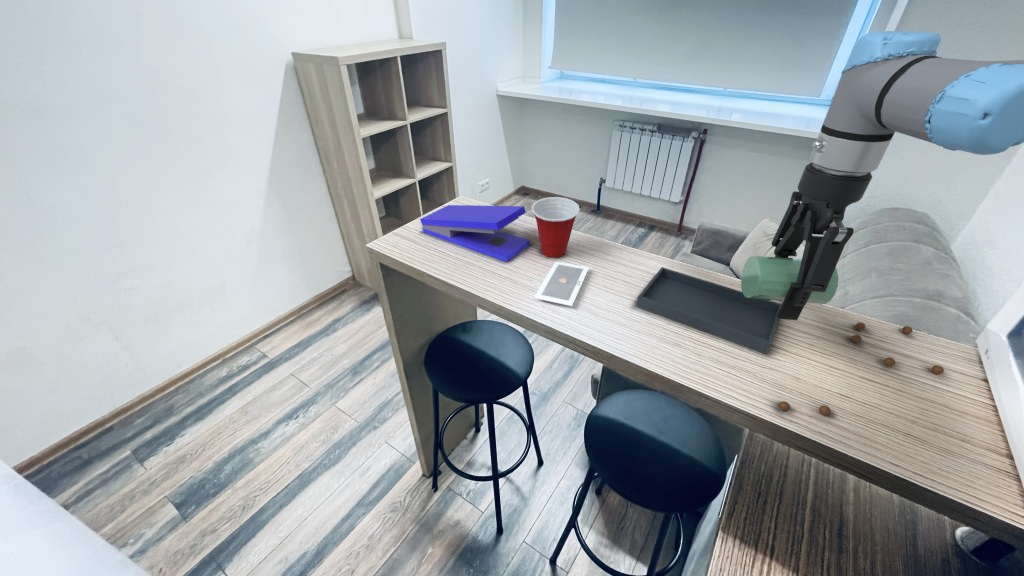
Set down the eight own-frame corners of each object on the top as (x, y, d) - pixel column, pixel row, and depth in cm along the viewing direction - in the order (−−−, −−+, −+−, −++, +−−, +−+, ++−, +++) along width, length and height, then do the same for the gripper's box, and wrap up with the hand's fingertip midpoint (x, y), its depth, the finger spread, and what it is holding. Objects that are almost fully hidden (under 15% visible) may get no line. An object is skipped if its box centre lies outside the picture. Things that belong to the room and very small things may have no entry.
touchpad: (533, 302, 82) (533, 293, 81) (555, 265, 94) (555, 257, 92) (571, 310, 80) (572, 301, 79) (588, 271, 91) (589, 263, 90)
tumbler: (751, 247, 66) (825, 252, 64) (737, 279, 71) (806, 284, 69) (763, 274, 61) (844, 280, 60) (747, 306, 66) (822, 313, 64)
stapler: (505, 263, 95) (503, 224, 89) (419, 232, 108) (414, 197, 103) (531, 243, 102) (532, 206, 97) (449, 217, 116) (445, 183, 110)
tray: (779, 314, 78) (783, 304, 76) (766, 354, 69) (771, 343, 68) (659, 276, 89) (661, 266, 88) (636, 306, 80) (638, 296, 79)
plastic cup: (528, 262, 95) (528, 215, 88) (533, 240, 104) (534, 195, 97) (575, 265, 93) (579, 218, 86) (576, 243, 102) (580, 198, 95)
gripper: (782, 145, 63) (737, 270, 76) (845, 193, 47) (774, 341, 60) (835, 146, 62) (781, 273, 75) (918, 197, 46) (830, 346, 59)
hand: (778, 303), depth 68 cm, fingers closed on tumbler, 7 cm apart
